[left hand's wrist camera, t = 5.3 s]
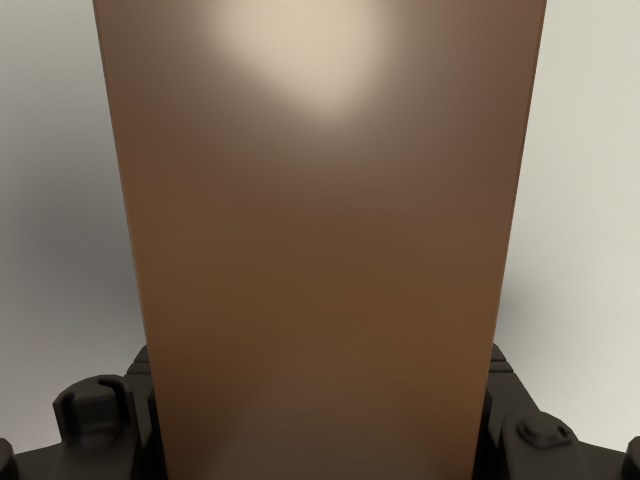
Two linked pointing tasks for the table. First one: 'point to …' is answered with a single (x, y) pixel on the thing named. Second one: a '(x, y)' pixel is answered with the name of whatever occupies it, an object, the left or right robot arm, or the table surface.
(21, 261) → the table surface
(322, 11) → the post
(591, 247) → the table surface
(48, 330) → the table surface
